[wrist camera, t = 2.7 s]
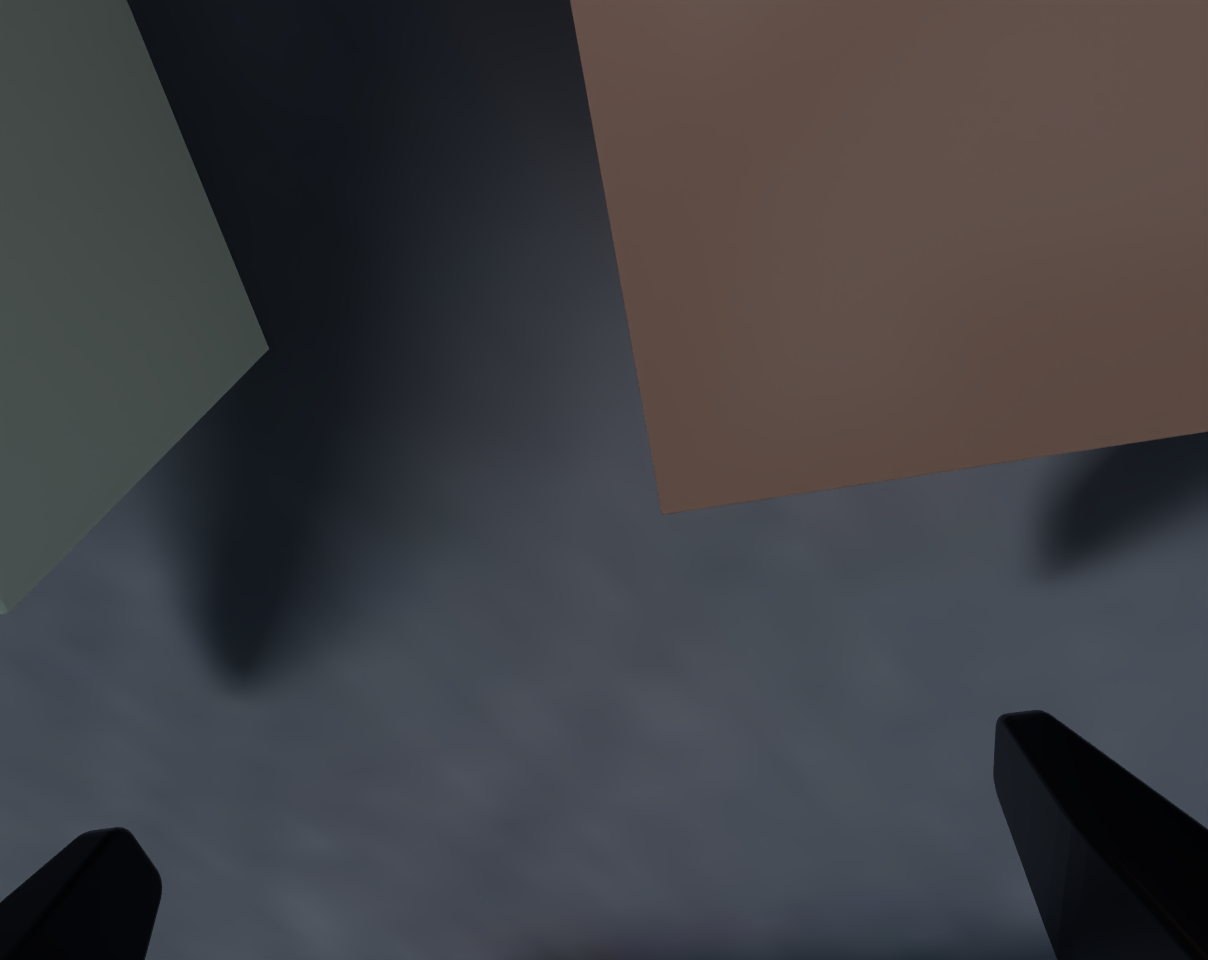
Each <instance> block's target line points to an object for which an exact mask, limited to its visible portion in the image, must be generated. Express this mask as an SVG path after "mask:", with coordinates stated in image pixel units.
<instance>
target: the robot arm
mask: <svg viewBox="0 0 1208 960" xmlns="http://www.w3.org/2000/svg"><path fill="white" fill-rule="evenodd" d="M993 776H994V783H995V788H996V792H997V796H998V799H999V802H1000V804H1001V807H1002V810H1003V813H1004V815H1005V818H1006V821H1007V824H1008V827H1009V829H1010V832H1011V835H1012V838H1013V840H1014V843H1015V846H1016V849H1017V851H1018V854H1019V857H1020V860H1021V862H1022V865H1023V868H1024V871H1025V873H1026V876H1027V879H1028V882H1029V884H1030V887H1031V890H1032V893H1033V896H1034V898H1035V901H1036V904H1037V907H1038V909H1039V912H1040V915H1041V918H1042V920H1043V923H1044V926H1045V929H1046V931H1047V934H1048V937H1049V939H1050V942H1051V944H1052V947H1053V950H1054V952H1055V955H1056V957H1057V959H1058V960H1208V829H1207V828H1205V827H1204V826H1203V825H1201V824H1200V823H1199V822H1197V821H1196V820H1195V819H1193V818H1192V817H1190V816H1189V815H1188V814H1186V813H1185V812H1184V811H1182V810H1181V809H1179V808H1178V807H1177V806H1175V805H1174V804H1173V803H1171V802H1170V801H1168V800H1167V799H1166V798H1164V797H1163V796H1162V795H1160V794H1159V793H1157V792H1156V791H1155V790H1153V789H1152V788H1151V787H1149V786H1148V785H1146V784H1145V783H1144V782H1142V781H1141V780H1140V779H1138V778H1137V777H1135V776H1134V775H1133V774H1131V773H1130V772H1129V771H1127V770H1126V769H1125V768H1123V767H1122V766H1120V765H1119V764H1118V763H1116V762H1115V761H1114V760H1112V759H1111V758H1109V757H1108V756H1107V755H1105V754H1104V753H1103V752H1101V751H1100V750H1098V749H1097V748H1096V747H1094V746H1093V745H1092V744H1090V743H1089V742H1087V741H1086V740H1085V739H1083V738H1082V737H1081V736H1079V735H1078V734H1076V733H1075V732H1074V731H1072V730H1071V729H1070V728H1068V727H1067V726H1065V725H1064V724H1063V723H1061V722H1060V721H1059V720H1057V719H1056V718H1055V717H1053V716H1052V715H1050V714H1049V713H1046V712H1044V711H1041V710H1031V711H1023V712H1015V713H1007V714H1003V715H1001V716H1000V717H999V718H998V720H997V723H996V731H995V750H994V769H993ZM161 894H162V882H161V877H160V874H159V872H158V870H157V869H156V867H155V866H154V865H153V863H152V862H151V860H150V859H149V857H148V856H147V854H146V853H145V852H144V850H143V849H142V847H141V846H140V844H139V843H138V841H137V840H136V839H135V837H134V836H133V834H132V833H131V832H130V831H129V830H127V829H125V828H122V827H115V828H107V829H99V830H92V831H88V832H86V833H83V834H81V835H80V836H78V837H77V838H76V839H74V840H73V841H72V842H71V843H70V844H69V845H67V846H66V847H65V848H64V849H63V850H62V851H60V852H59V853H58V854H57V855H56V856H54V857H53V858H52V859H51V860H50V861H49V862H47V863H46V864H45V865H44V866H43V867H42V868H40V869H39V870H38V871H37V872H36V873H34V874H33V875H32V876H31V877H30V878H29V879H27V880H26V881H25V882H24V883H23V884H22V885H20V886H19V887H18V888H17V889H16V890H14V891H13V892H12V893H11V894H10V895H9V896H7V897H6V898H5V899H4V900H3V901H2V902H0V960H145V957H146V953H147V950H148V946H149V942H150V938H151V934H152V930H153V927H154V923H155V919H156V915H157V911H158V908H159V904H160V900H161Z"/></svg>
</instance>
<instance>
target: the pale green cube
mask: <svg viewBox="0 0 1208 960" xmlns="http://www.w3.org/2000/svg"><path fill="white" fill-rule="evenodd" d="M268 350H269V347H268V345H267V342H266V340H265V337H264V335H263V333H262V330H261V328H260V325H259V323H258V320H257V318H256V315H255V313H254V311H253V308H252V306H251V303H250V301H249V298H248V296H247V293H246V291H245V289H244V286H243V284H242V281H241V279H240V276H239V274H238V271H237V269H236V266H235V264H234V262H233V259H232V257H231V254H230V252H229V249H228V247H227V244H226V242H225V240H224V237H223V235H222V232H221V230H220V227H219V225H218V222H217V220H216V217H215V215H214V213H213V210H212V208H211V205H210V203H209V200H208V198H207V195H206V193H205V191H204V188H203V186H202V183H201V181H200V178H199V176H198V173H197V171H196V169H195V166H194V164H193V161H192V159H191V156H190V154H189V151H188V149H187V146H186V144H185V142H184V139H183V137H182V134H181V132H180V129H179V127H178V124H177V122H176V120H175V117H174V115H173V112H172V110H171V107H170V105H169V102H168V100H167V97H166V95H165V93H164V90H163V88H162V85H161V83H160V80H159V78H158V75H157V73H156V71H155V68H154V66H153V63H152V61H151V58H150V56H149V53H148V51H147V48H146V46H145V44H144V41H143V39H142V36H141V34H140V31H139V29H138V26H137V24H136V22H135V19H134V17H133V14H132V12H131V9H130V7H129V4H128V2H127V0H0V614H6V613H10V612H11V611H12V610H13V609H14V608H15V607H16V606H17V605H18V604H19V603H20V602H21V601H22V600H23V599H24V598H25V597H26V596H27V595H28V594H29V593H30V592H31V590H32V589H33V588H34V587H35V586H36V585H37V584H38V583H39V582H40V581H41V580H42V579H43V578H44V577H45V576H46V575H47V574H48V573H49V572H50V571H51V570H52V569H53V568H54V567H55V566H56V565H57V564H58V563H59V562H60V561H61V560H62V559H63V558H64V557H65V556H66V555H67V554H68V553H69V552H70V551H71V550H72V549H73V548H74V547H75V546H76V545H77V544H78V543H79V542H80V541H81V540H82V539H83V538H84V537H85V536H86V535H87V534H88V533H89V532H90V531H91V530H92V529H93V527H94V526H95V525H96V524H97V523H98V522H99V521H100V520H101V519H102V518H103V517H104V516H105V515H106V514H107V513H108V512H109V511H110V510H111V509H112V508H113V507H114V506H115V505H116V504H117V503H118V502H119V501H120V500H121V499H122V498H123V497H124V496H125V495H126V494H127V493H128V492H129V491H130V490H131V489H132V488H133V487H134V486H135V485H136V484H137V483H138V482H139V481H140V480H141V479H142V478H143V477H144V476H145V475H146V474H147V473H148V472H149V471H150V470H151V469H152V468H153V467H154V465H155V464H156V463H157V462H158V461H159V460H160V459H161V458H162V457H163V456H164V455H165V454H166V453H167V452H168V451H169V450H170V449H171V448H172V447H173V446H174V445H175V444H176V443H177V442H178V441H179V440H180V439H181V438H182V437H183V436H184V435H185V434H186V433H187V432H188V431H189V430H190V429H191V428H192V427H193V426H194V425H195V424H196V423H197V422H198V421H199V420H200V419H201V418H202V417H203V416H204V415H205V414H206V413H207V412H208V411H209V410H210V409H211V408H212V407H213V406H214V405H215V403H216V402H217V401H218V400H219V399H220V398H221V397H222V396H223V395H224V394H225V393H226V392H227V391H228V390H229V389H230V388H231V387H232V386H233V385H234V384H235V383H236V382H237V381H238V380H239V379H240V378H241V377H242V376H243V375H244V374H245V373H246V372H247V371H248V370H249V369H250V368H251V367H252V366H253V365H254V364H255V363H256V362H257V361H258V360H259V359H260V358H261V357H262V356H263V355H264V354H265V353H266V352H267V351H268Z"/></svg>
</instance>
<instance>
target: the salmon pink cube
mask: <svg viewBox="0 0 1208 960" xmlns="http://www.w3.org/2000/svg"><path fill="white" fill-rule="evenodd" d="M570 2H571V8H572V13H573V19H574V25H575V30H576V36H577V41H578V47H579V53H580V58H581V64H582V69H583V75H584V81H585V86H586V92H587V97H588V103H589V109H590V114H591V120H592V125H593V131H594V137H595V142H596V148H597V153H598V159H599V165H600V170H601V176H602V181H603V187H604V193H605V198H606V204H607V209H608V215H609V221H610V226H611V232H612V237H613V243H614V249H615V254H616V260H617V265H618V271H619V277H620V282H621V288H622V293H623V299H624V305H625V310H626V316H627V321H628V327H629V333H630V338H631V344H632V349H633V355H634V361H635V366H636V372H637V377H638V383H639V389H640V394H641V400H642V405H643V411H644V417H645V422H646V428H647V433H648V439H649V445H650V450H651V456H652V461H653V467H654V473H655V478H656V484H657V489H658V495H659V501H660V506H661V512H662V515H664V514H671V513H678V512H684V511H691V510H697V509H704V508H710V507H717V506H723V505H730V504H737V503H743V502H750V501H756V500H763V499H769V498H776V497H782V496H789V495H795V494H802V493H809V492H815V491H822V490H828V489H835V488H841V487H848V486H854V485H861V484H868V483H874V482H881V481H887V480H894V479H900V478H907V477H913V476H920V475H927V474H933V473H940V472H946V471H953V470H959V469H966V468H972V467H979V466H986V465H992V464H999V463H1005V462H1012V461H1018V460H1025V459H1031V458H1038V457H1044V456H1051V455H1058V454H1064V453H1071V452H1077V451H1084V450H1090V449H1097V448H1103V447H1110V446H1117V445H1123V444H1130V443H1136V442H1143V441H1149V440H1156V439H1162V438H1169V437H1176V436H1182V435H1189V434H1195V433H1202V432H1208V0H570Z"/></svg>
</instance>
